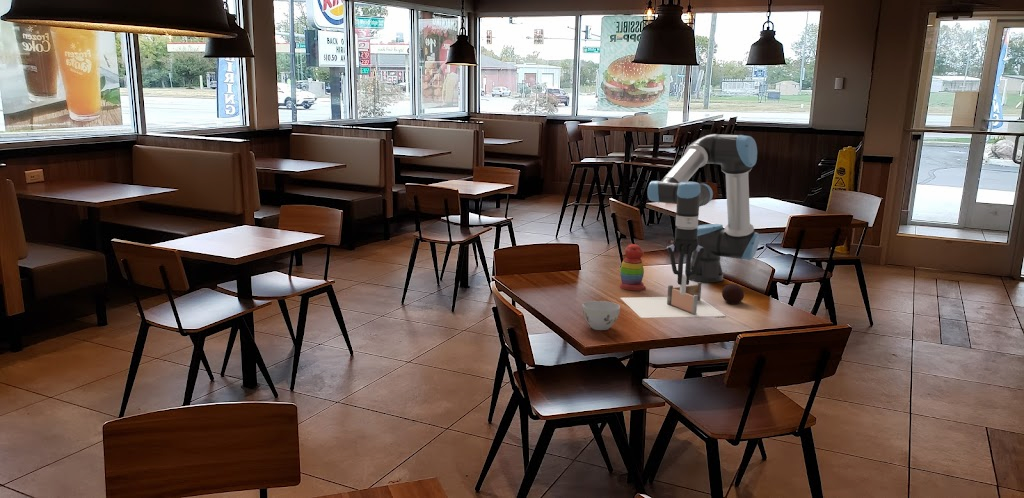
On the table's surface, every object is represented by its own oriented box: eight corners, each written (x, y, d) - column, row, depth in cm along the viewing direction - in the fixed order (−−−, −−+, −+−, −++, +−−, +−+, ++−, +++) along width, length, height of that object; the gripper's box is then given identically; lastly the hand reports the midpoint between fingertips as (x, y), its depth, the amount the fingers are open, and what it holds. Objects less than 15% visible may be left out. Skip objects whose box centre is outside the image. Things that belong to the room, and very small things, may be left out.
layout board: (697, 297, 294) (697, 295, 294) (725, 317, 269) (725, 315, 268) (619, 299, 289) (619, 297, 289) (640, 319, 264) (641, 317, 264)
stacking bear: (646, 291, 302) (649, 247, 298) (621, 290, 302) (623, 246, 298) (642, 284, 312) (645, 241, 309) (617, 283, 313) (620, 241, 309)
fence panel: (670, 304, 280) (671, 287, 279) (673, 304, 281) (674, 286, 279) (694, 314, 269) (695, 296, 267) (697, 313, 269) (698, 295, 268)
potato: (727, 307, 281) (728, 287, 280) (716, 300, 290) (718, 281, 289) (747, 307, 283) (749, 286, 281) (736, 300, 292) (738, 280, 290)
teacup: (626, 331, 251) (627, 308, 249) (593, 335, 246) (594, 311, 244) (602, 318, 264) (603, 296, 262) (571, 322, 259) (572, 299, 257)
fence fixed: (698, 299, 289) (699, 281, 288) (701, 300, 288) (702, 282, 286) (665, 303, 282) (667, 285, 281) (669, 305, 281) (670, 286, 279)
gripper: (669, 229, 257) (665, 296, 263) (708, 229, 257) (703, 296, 262) (665, 224, 265) (662, 290, 270) (703, 225, 264) (699, 290, 270)
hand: (682, 293), depth 266 cm, fingers closed
